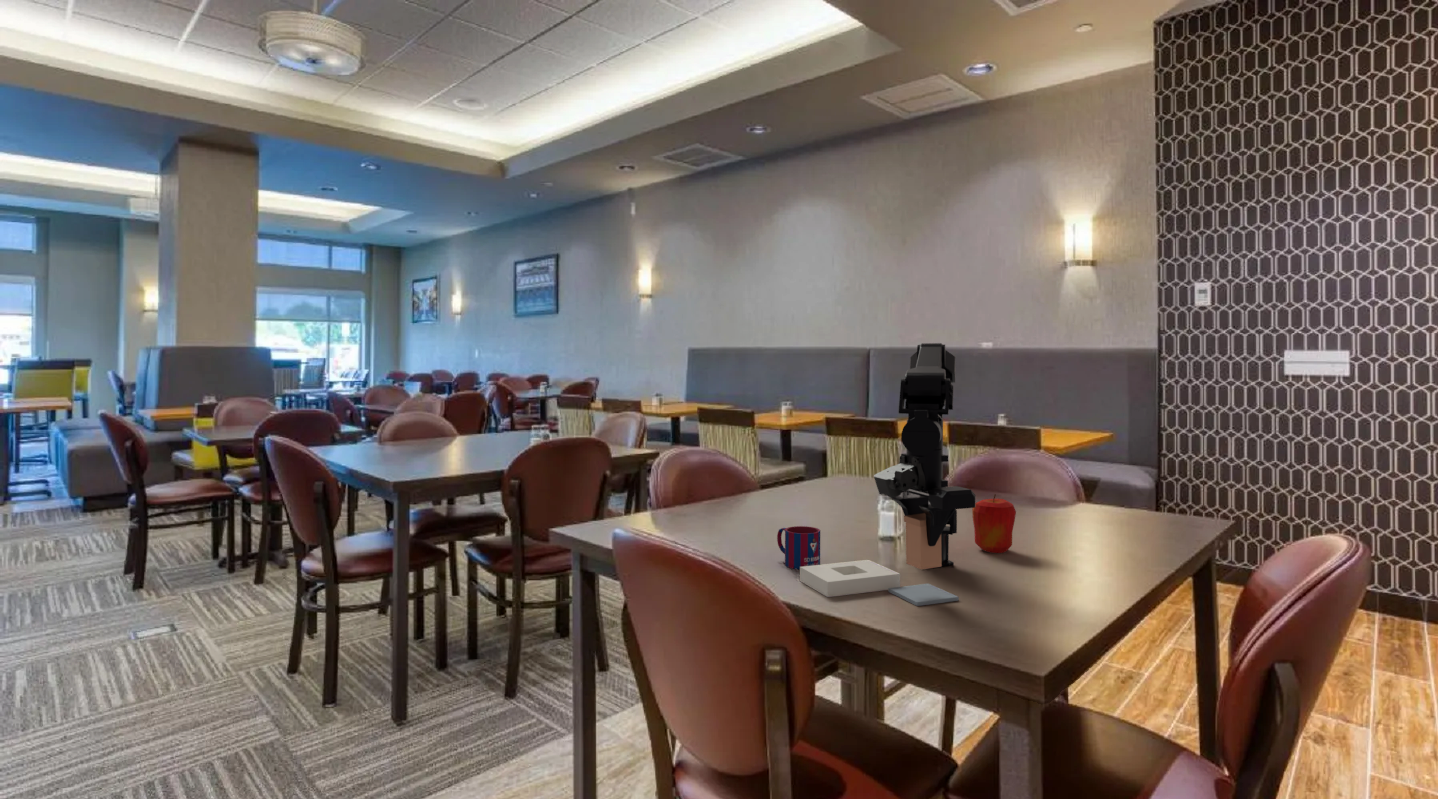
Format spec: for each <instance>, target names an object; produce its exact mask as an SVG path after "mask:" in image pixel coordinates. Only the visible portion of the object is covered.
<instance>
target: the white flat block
mask: <svg viewBox="0 0 1438 799" xmlns="http://www.w3.org/2000/svg"><path fill="white" fill-rule="evenodd" d="M799 581H800V582H801V583H803V584H804V585H806V586H808V587H810V588H811V589H813V590H815V591H817V592H818V593H819V594H821V595H823V596H825V597H827V598H831V597H839V596H840V597H841V596H846V595H847V596H848V595H856V594H863V593H864V594H865V593H871V592H872V593H874V592H879V591H880V592H881V591H888V588H895V587H901V573H899V572H897V571H895V570H893V569H890V568H889V567H886V566H883V565H882V564H879V563H877V562H875V561H873V560H870V559H864V560H863V559H861V560H855V561H854V560H852V561H845V562H844V561H842V562H834V563H823V564H820V565H812V566H803V567H800V569H799Z"/></svg>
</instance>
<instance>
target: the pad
mask: <svg viewBox="0 0 1438 799" xmlns="http://www.w3.org/2000/svg"><path fill="white" fill-rule="evenodd" d="M887 592H888V593H890V594H892V595H894V596H896V597H898V598H900V599H902V600H904V601H906V602H908V603H910V604H912V605H914V606H916V607H920V606H925V605H926V606H928V605H934V604H935V605H937V604H943V603H949V602H957V601H959V600H960V599H959V598H960V597H959V596H958V595H955V594H953V593H951V592H948V591H946V590H944V589H942V588H939V587H937V586H935V585H933V584H931V583H920V584H914V585H913V584H912V585H905V586H900V587H895V588H888V590H887Z"/></svg>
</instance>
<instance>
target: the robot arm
mask: <svg viewBox="0 0 1438 799" xmlns="http://www.w3.org/2000/svg"><path fill="white" fill-rule="evenodd" d="M916 348H917V349H916V352H914V353H913V354H912V355H911V356H910V357H909V360H910V362H909V369H907V370H906V372H905V376H904V378H901V379H900V388H899V389H900V391H899V401H898V402H899V403H898V414H899V415H904V414H905V415H908V418H907V420H906V423H905V424H904V426H903V428H902V430H901V434H900V436H901V442H902V444H903V446H904V448H905V449H906V452H905V453H901V454H900V456H899V461H898V463H897V464H895V465H892V466H889V467H887V468H885V469H883V470H880V471H879V472H877V473H875V474H874V475H873V479H874V482H875V485H876V488H877V492H878V494H879V495H886V496H887V497H888V498H890V499H891V500H892V501H894V502H895V503H897V505H898V506H899V507H901V509H902V512H903V514H904V515H903V516H906V515H914V514H923V513H925V515H926V527H927V540H928V545H929V546H935V545H936V543H937V541H938V539H939V537H940V535H941V558H942V566H941V567H943V566H944V567H945V566H952V565H953V566H954V563H955V561H952V560H949V548H950V547H949V541H950V540H949V535H951V536H953V534H957V533H958V531H957V530H958V511H957V510H960V509H961V510H962V509H973V508H975V505H976V503H977V502H976V501H977V500H976V496H977V495H976V493H975V492H974V491H973V490H972V489H969V488H966V487H962V486H955V485H953V486H949V480H948V479H943V471H944V470H943V469H944V467H943V463H946V462H949V455H948V454H944V452H943V451H944V447H943V446H944V416H945V415H947V416H948V415H949V413H950V411H951V410H954V385H953V384H956V374H957V373H956V368H957V367H956V366H957V364H956V356H955V355H953V354H952V353H950V352H949V351H948V350H946V344H943V343H941V342H935V343H934V342H929V343H928V342H927V343H924V342H923V343H921V344H917V347H916ZM947 525H949V526H947Z"/></svg>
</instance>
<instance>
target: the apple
mask: <svg viewBox="0 0 1438 799" xmlns="http://www.w3.org/2000/svg"><path fill="white" fill-rule="evenodd" d="M996 497H997V495H996V494H995V493H994V496H993V498H987V499H985V498H984V499H981V500H979V501H977V502H976V505H975V508H971V509H972V510H971V511H972V515H971V516H972V521H973V522H972V523H973V529H974V543H975V544H976V545H977V546H978V547H979V549H981V550H983V551H984V552H987V553H991V554H993V553H994V554H1003V553H1006V552H1008V550H1009V549H1010V548H1011V547H1012V546H1013V530H1014V526H1015V522H1016V521H1015V520H1016V515H1017V511H1016V508H1015V506H1014V504H1013V503H1012V502H1010V501H1008V500H1006V499H1004V498H996Z"/></svg>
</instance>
